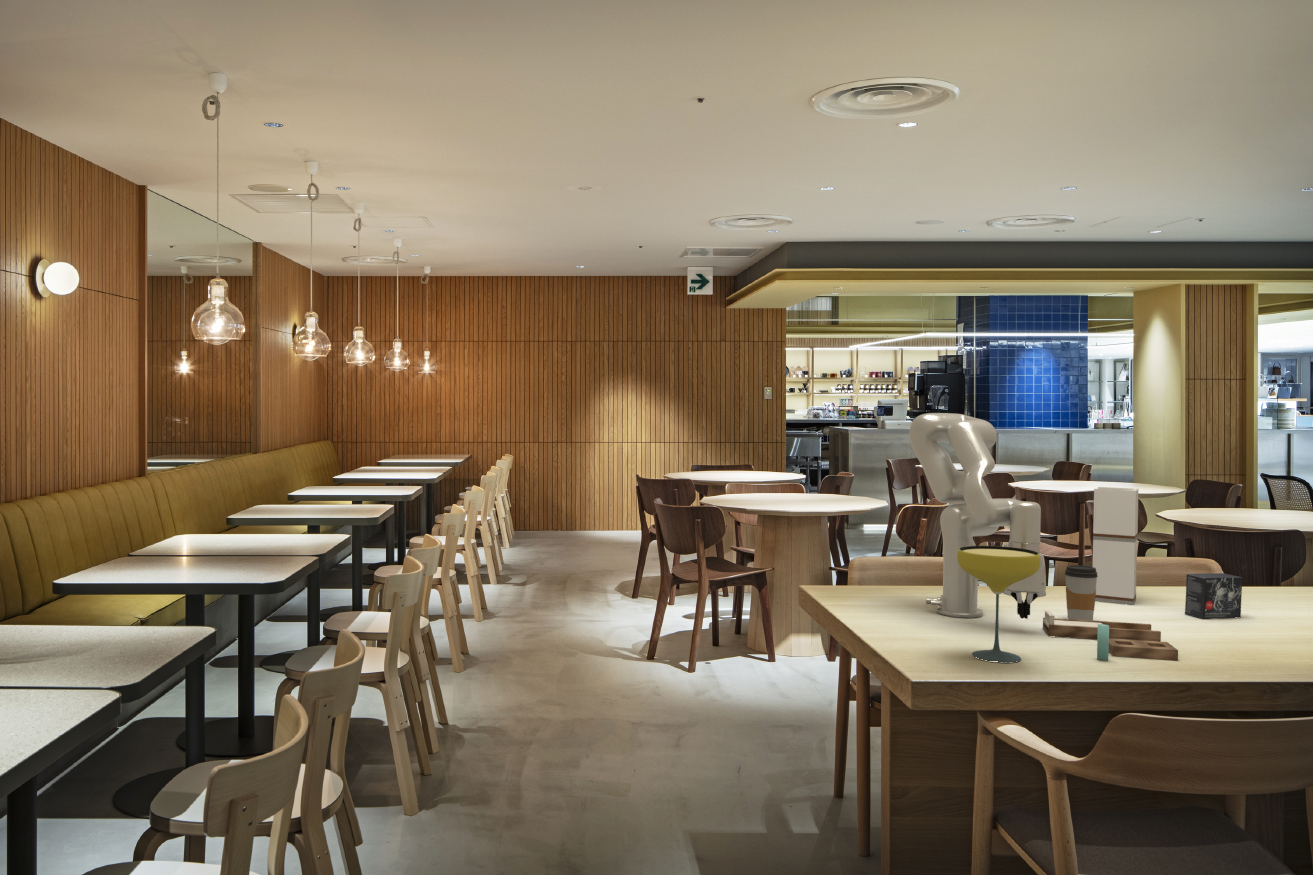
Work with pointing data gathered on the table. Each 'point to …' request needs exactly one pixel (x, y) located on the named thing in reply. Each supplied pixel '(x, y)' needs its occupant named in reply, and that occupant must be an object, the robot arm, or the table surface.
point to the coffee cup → (1080, 591)
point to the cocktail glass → (998, 580)
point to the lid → (1050, 620)
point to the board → (1115, 630)
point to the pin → (1103, 642)
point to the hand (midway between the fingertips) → (1023, 617)
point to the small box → (1213, 595)
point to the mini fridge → (1115, 544)
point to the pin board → (1142, 649)
